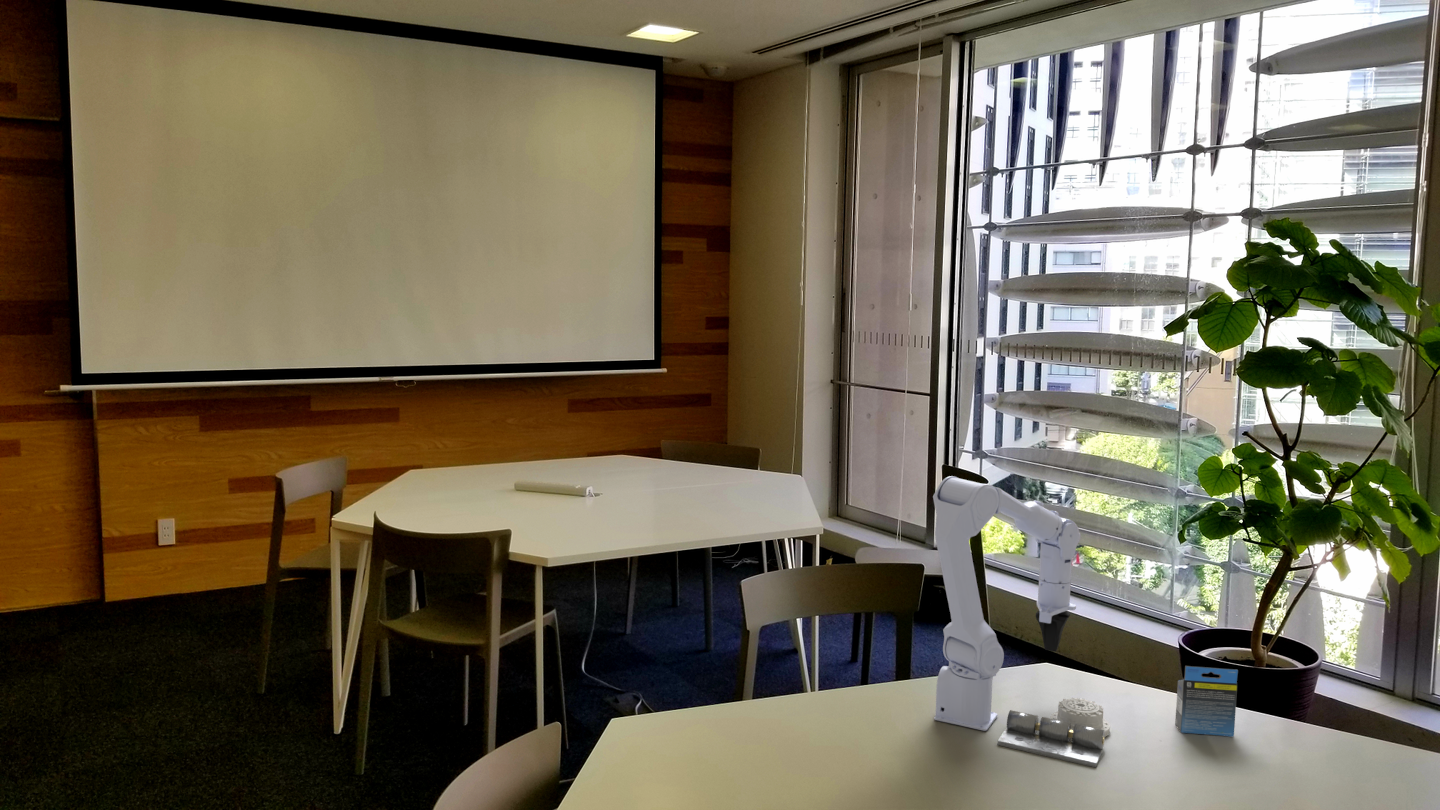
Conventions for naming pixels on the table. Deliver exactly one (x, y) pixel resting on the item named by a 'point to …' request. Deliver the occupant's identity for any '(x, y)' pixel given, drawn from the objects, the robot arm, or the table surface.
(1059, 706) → the mechanical component
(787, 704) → the table surface
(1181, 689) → the blue ink cartridge box
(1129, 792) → the table surface
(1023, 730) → the hinge leaf
